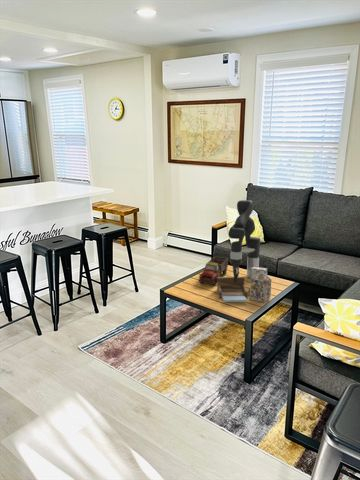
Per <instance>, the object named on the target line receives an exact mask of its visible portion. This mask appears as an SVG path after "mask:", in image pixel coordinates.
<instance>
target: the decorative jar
mask: <svg viewBox="0 0 360 480" xmlns="http://www.w3.org/2000/svg"><path fill="white" fill-rule="evenodd" d="M249 288H250V289H249V300H252V301H256V302H259V303H266V302H267V301H268V300H269V299H270V298H271V295H272V279H271V278H270V276H268V275H267V276H266V275H264V274H258V275H255V276H253V278H252V280H251V279H250V287H249Z"/></svg>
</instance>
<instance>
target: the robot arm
mask: <svg viewBox="0 0 360 480" xmlns="http://www.w3.org/2000/svg"><path fill="white" fill-rule="evenodd" d="M236 209H237V213H238V216H237V217H236V219H235V221H234V224H233V225H232V226H231V227H230V228H229V230H228V237H229V238H230V239H236V240H235V241H232V242H231V244H230V257H229V259H230V265H231V266H232V274H233V277H234V282H237V277H239V274H240V271H239V270H240V266H241V265H242V264H243V251H242V250H243V242H244V240H245V245H246V248H247V249H253V250H251V251H249V252H247V260H246V261H247V263H246V265H247V266H246V278H249V279H251V268H252V267H260V265H259V264H260V249H261V238H260V237H256V236H252V234H253V233H254V232H255V230H256V225H255V220H254V219H253V218H252V217H251V215H252V213H253V211H254V202H253V201H252V200H250V199H249V200H245V199H244V200H242V199H241V200H238V201H237V203H236Z"/></svg>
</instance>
